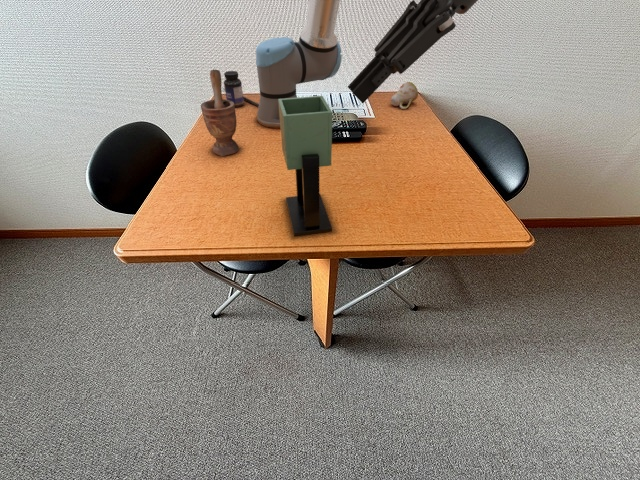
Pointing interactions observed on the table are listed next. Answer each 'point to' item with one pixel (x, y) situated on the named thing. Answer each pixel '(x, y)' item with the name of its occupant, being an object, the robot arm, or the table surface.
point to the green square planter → (305, 130)
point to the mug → (405, 95)
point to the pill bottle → (233, 88)
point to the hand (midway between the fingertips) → (355, 94)
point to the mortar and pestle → (220, 118)
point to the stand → (308, 200)
